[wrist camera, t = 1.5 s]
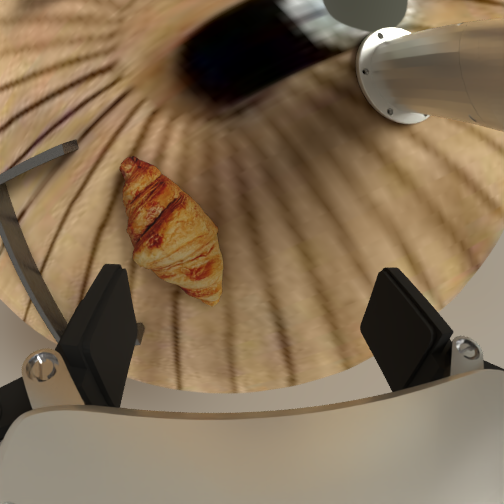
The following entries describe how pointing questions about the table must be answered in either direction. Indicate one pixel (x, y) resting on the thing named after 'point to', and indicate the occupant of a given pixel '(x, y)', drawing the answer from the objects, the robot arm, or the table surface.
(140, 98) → the table surface
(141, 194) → the croissant
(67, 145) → the bent metal bracket
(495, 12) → the table surface
